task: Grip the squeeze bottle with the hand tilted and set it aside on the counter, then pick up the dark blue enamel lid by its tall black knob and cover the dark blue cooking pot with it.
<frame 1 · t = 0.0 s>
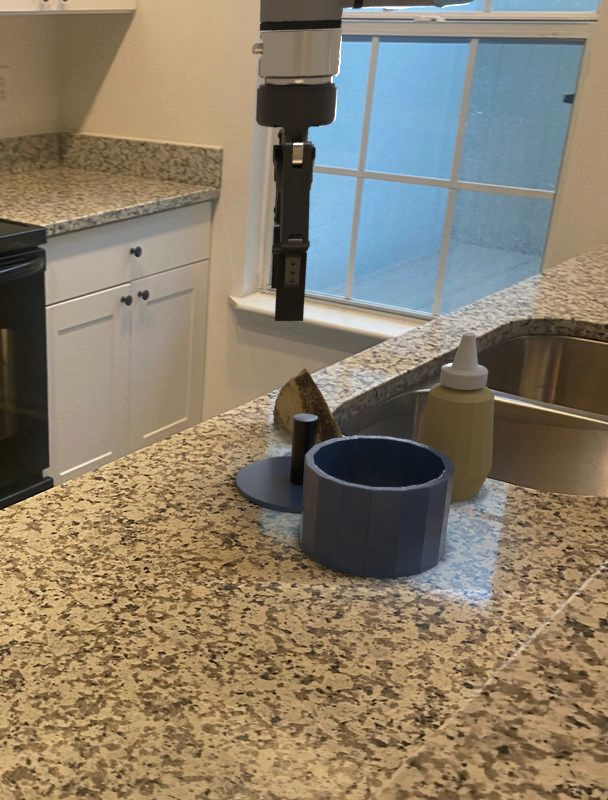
hand: (286, 303, 106), 21 cm above the table, tool pointing down, fingers open, 13 cm apart
pot lid: (301, 485, 115), point 1 cm above the table
rock: (306, 439, 129), on the table
pot: (369, 549, 102), on the table
squeeze bottle: (448, 495, 113), on the table
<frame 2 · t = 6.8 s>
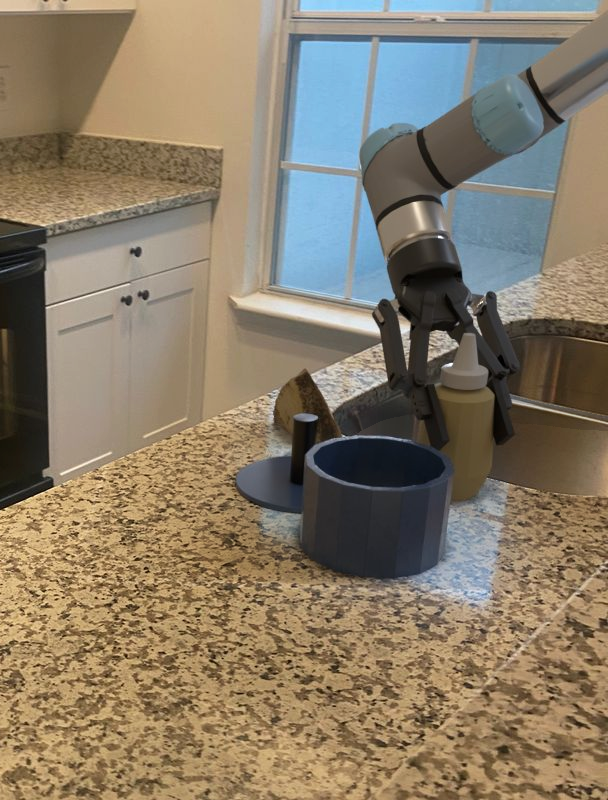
hand: (473, 442, 106), 7 cm above the table, tool tilted 45°, fingers closed on squeeze bottle, 6 cm apart
squeeze bottle: (448, 495, 113), on the table, touching gripper
everything else where it was.
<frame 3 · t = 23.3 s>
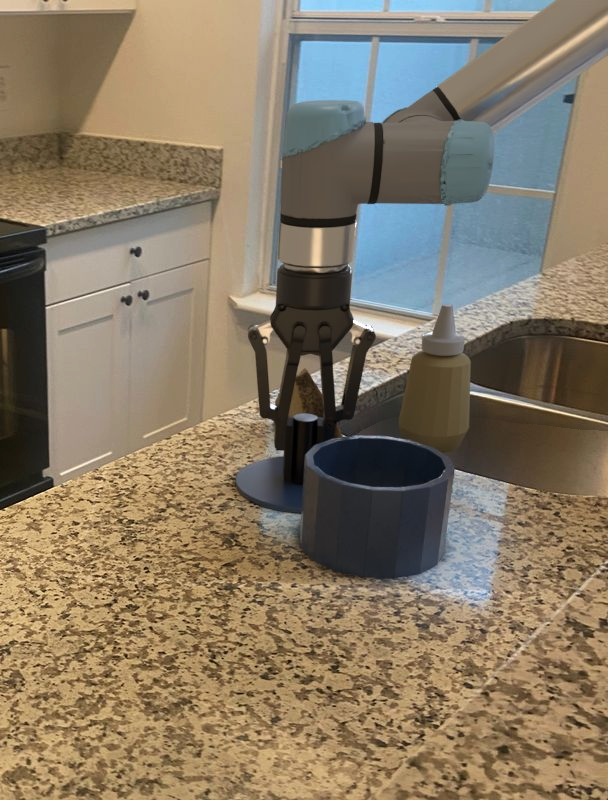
hand: (301, 476, 114), 2 cm above the table, tool pointing down, fingers closed on pot lid, 3 cm apart
pot lid: (301, 485, 115), point 1 cm above the table, touching gripper
squeeze bottle: (429, 454, 124), on the table
everything else where it was.
when the fingers open (11 cm above the table, at t = 29.0 s): pot lid stays where it is, resting on pot.
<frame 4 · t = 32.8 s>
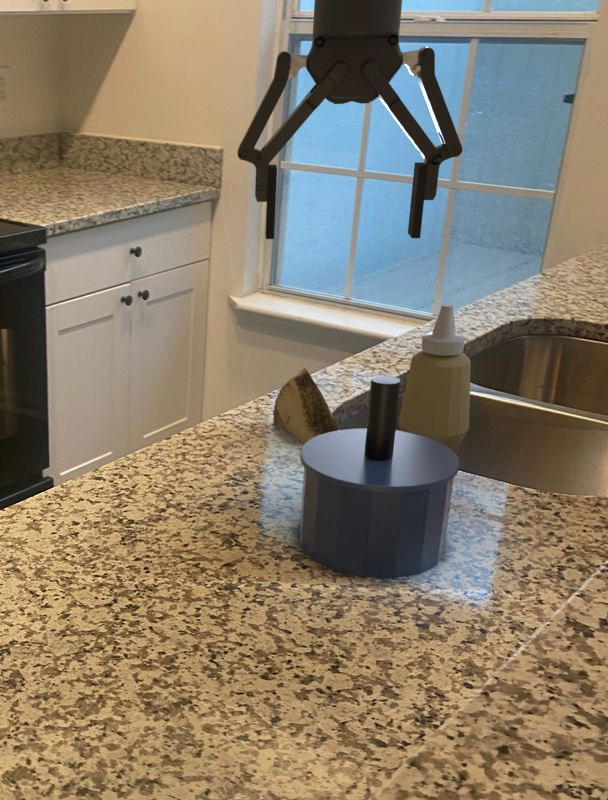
hand: (341, 236, 99), 29 cm above the table, tool pointing down, fingers open, 13 cm apart
pot lid: (377, 461, 97), point 9 cm above the table, touching pot
everything else where it was.
at the end: squeeze bottle inside the target area (0.1 cm from its centre), on the table; pot lid 0.0 cm off-centre on the pot, point 9.5 cm above the pot's base; pot lid tilted 0° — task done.
